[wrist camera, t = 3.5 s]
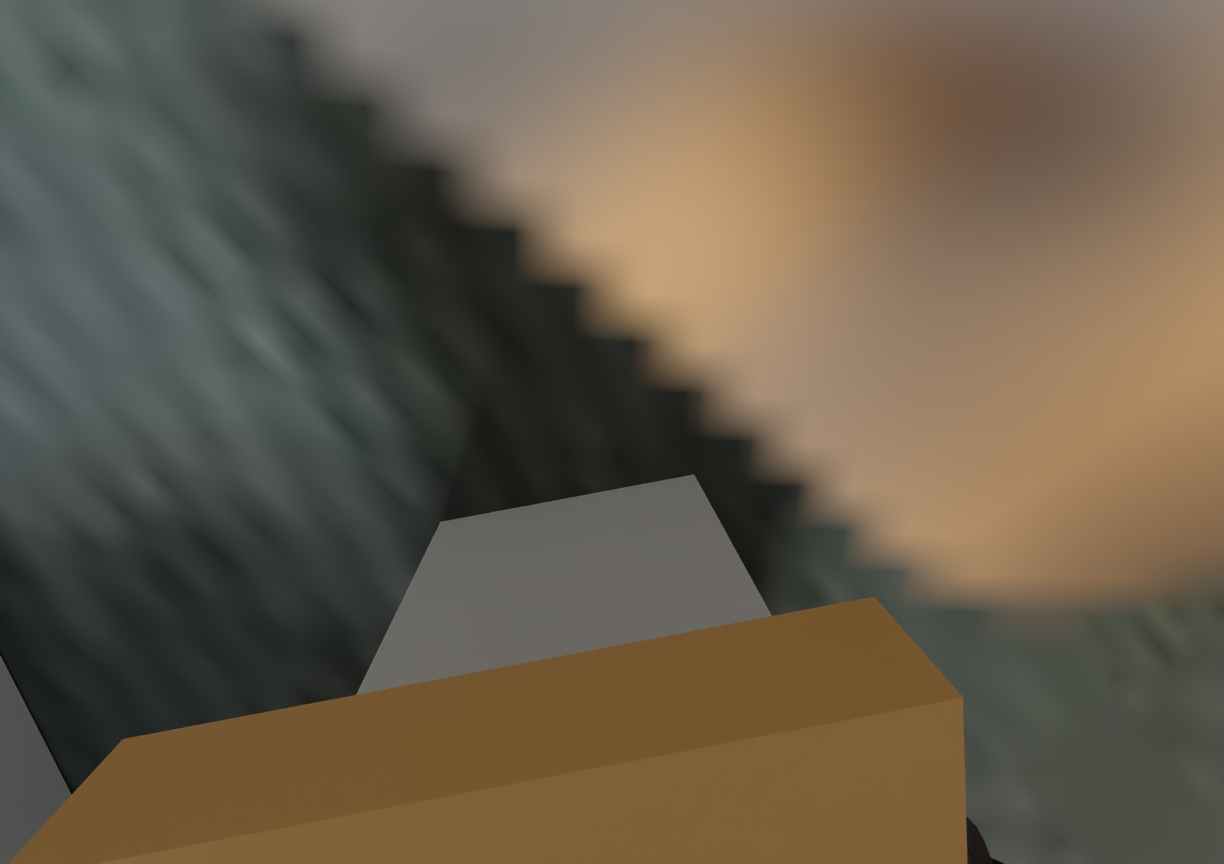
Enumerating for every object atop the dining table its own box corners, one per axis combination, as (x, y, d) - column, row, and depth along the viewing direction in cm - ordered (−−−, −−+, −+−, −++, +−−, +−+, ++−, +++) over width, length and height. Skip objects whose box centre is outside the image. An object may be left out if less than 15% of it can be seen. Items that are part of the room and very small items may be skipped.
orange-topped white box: (679, 374, 12) (962, 698, 3) (736, 764, 14) (986, 1533, 6) (414, 423, 12) (-13, 884, 3) (517, 806, 14) (435, 1644, 6)
